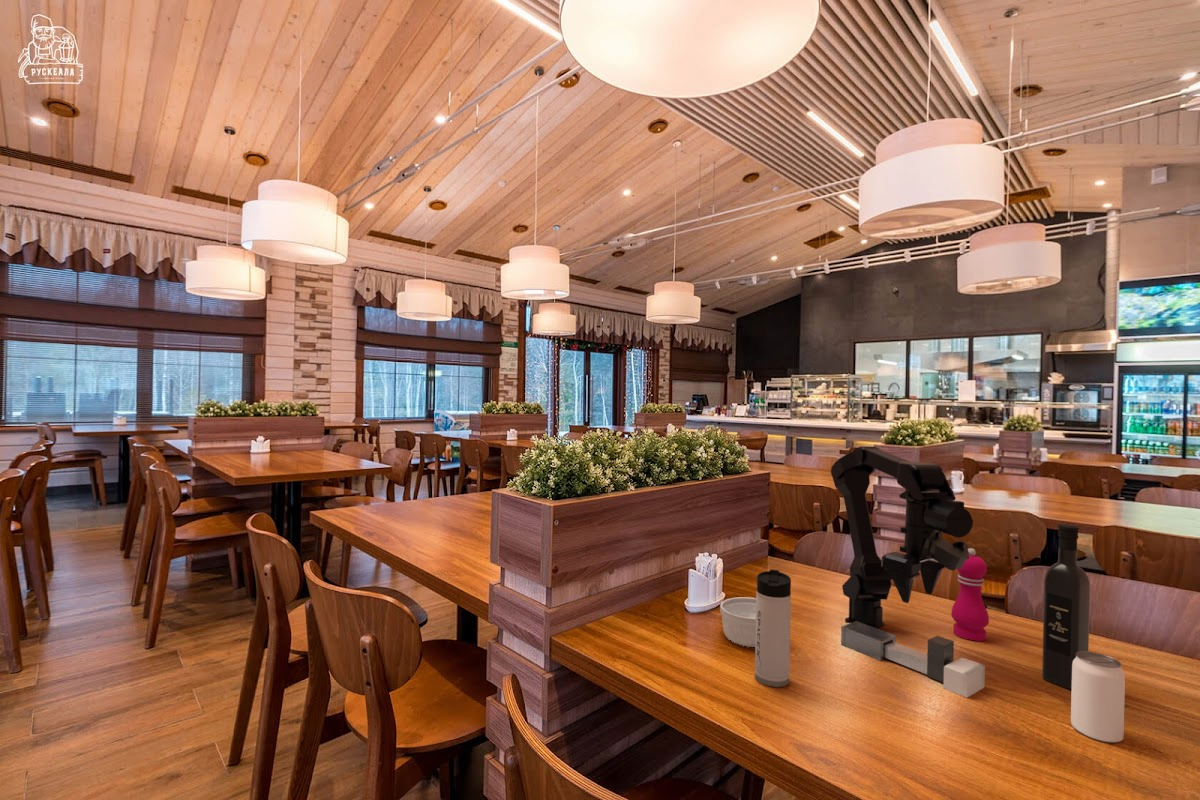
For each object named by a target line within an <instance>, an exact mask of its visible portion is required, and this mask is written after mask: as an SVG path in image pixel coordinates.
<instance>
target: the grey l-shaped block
mask: <svg viewBox="0 0 1200 800" xmlns="http://www.w3.org/2000/svg"><path fill="white" fill-rule="evenodd" d="M954 645H955V640H952V639H948V638H945V637H943V636H940V635H936V636H933V637H931V638H929V639H927V653H925V652H921V651H919V650H916V649H914V648H911V647H908V646H905V645H903V644H900V643H898V642H896V641H895V642H892V641H888V642H885V643H884V647H883V659H888V660H890V661H892V662H895V663H897V664H900V665H902V666H904V667H907V668H908V669H909V668H910V669H912V670H914V671H917V672H920V673H922V674H925V675H926V677H928V678H930V679H934V680H936V681H938V682H941V683H943V684H944V666H946V665H948V664H949V663H951V662H953V661H955V660H954V658H955V657H954V655H955V652H954V651H955V646H954Z"/></svg>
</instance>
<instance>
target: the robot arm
mask: <svg viewBox="0 0 1200 800" xmlns="http://www.w3.org/2000/svg"><path fill="white" fill-rule="evenodd" d="M876 470H877V471H880V472H882V473H884V474H886V475H889V476H890V477H893V478H894V479H896V483H897V484H898V485H899V486H901V487H902V488H904V490H905V491H903V492H901V493H900V494H899V498H900V499H902V500H905V520H904V521H905V523H904V526H900V533H903V534H904V540H903V541H904V545H901V546H899V552H898V551H893V552H889V553H886V554H884V555H883V556H881V557H879V556H878V552H877V549H876V548H877V547H876V543H875V538H874V532H873V528H872V521H871V517H870V512H869V506H868V503H867V502H868V500H867V496H866V494H867V492H868V489H869V486H870V484H871V479H870V476H871V475H872V474H873V473H875V471H876ZM830 475H831V476H832V481H833V485H834V487H835V488H836V490H837V491H839V493H840V494H841V495H842V497H843V500H844V505H845V511H846V517H847V521H848V528H849V532H850V533H849V534H850V537H851V538H850V539H851V543H852V550H853V554H854V555H853V556H854V557H853V560H852V561H851V564H850V567H849V576H850V577H849V578H848V579H846V581H845V582H844V583H843V584H842V585H841V587H842V594H843V596H845V597H847V598H848V599H849V600H848V617H845V618H844V621H845V622H847V623H848V624H849V623H852V622H855V621H857V622H860V623H863V624H866V625H868V626H871V627H874V628H878V627H881V626H884V625H885V621H883V611H884V610H883V606H882V600H886V601H887V600H888V597H889V594H890V590H891V588H892V581H893V583H894V585H895V588H896V590H897V592H898V593H899V597H900V599H901V601H902V603H905V604H908V603H909V602H910V599H911V595H912V589H913V588H912V587H913V582H914V580H915V579H916V578H917V577H919V576H921V581H922V584H923V587H924V591H925V594H927V595H933V593H934V590H935V588H936V585H937V582H938V581H939V580H938V579H939V577H940V576H941V572H942V571H943V570H944V569H947V570H949V571H957V569H958V568H962V566H963V564H964V562H965V560H967V559H969V556H968V555H969V552H968V549H969V545H968V543H966V542H964V541H963V540H956V541H955V542H953V543H952V541H946V540H944V539H943V534H946V535H949V536H952V537H953V538H963V537H965V536H967V535H968V534H969V533H970V532H971V530H972V529H973V524H974V520H973V518H972V515H971V513H970V511H969V510H967V509H966V508H965V502H964V501H960V500H957V499H956V496H955V494H954V490H953V489H952V488H951V485H950V483H949V480H948V479H947V477H946V475H945V473H944V471H943V468H942V467H941V466H940V465H938V464H936V463H929V462H919V461H911V460H908V459H905V458H902V457H900V456H897V455H894V454H892V453H889V452H887V451H885V450H881V449H880V448H879V447H877V446H871V445H870V446H858V447H856V448H854V450H853V451H852V452H849V453H848V454H846V455H843V456H841V457H840V458H838V459H837V460H836V461H835V462H834V464H832V465H831V467H830ZM919 572H920V573H919Z"/></svg>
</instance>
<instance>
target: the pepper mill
mask: <svg viewBox="0 0 1200 800" xmlns="http://www.w3.org/2000/svg"><path fill="white" fill-rule="evenodd" d="M968 552H969V555H968V556H969V559H967V560H965V562H964V564H963V566H962V568H958V569H956V571H957V572H958V573H959V574H957V577H958V578H957V581H958V582H959V592H958V596H957V598H956V599H955V601H954V603H953V605H952V608H951V613H950V614H951V618H952V619H953V621H954V622H955V623H954V624H953V629H952V630H953V634H954V635H955V636H956V637H958V636H959V638H961V637H962V638H961V639H963V638H966V639H965V640H967V639H970V640H969V641H972V640H975V641H974V642H982V641H983V640H984V641H985V640H986V639H987V630H986V629H985V628H986V627H987V626H988V625H989V624H990V623H989V622H990V619H989V617H990V616H989V612H988V610H987V608H986V606H985V604H984V601H983V597H982V586H984V584H985V583H984V581H985V579H984V578H983V577H984V576H985V575H986V574H987V570H988V567H987V564H986V562H985V560H984V559H982V558H981V557H980V556H979V555H978V556H977V555H976V554H977V552H976V549H974V548H969V547H968Z"/></svg>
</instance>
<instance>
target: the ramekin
mask: <svg viewBox="0 0 1200 800" xmlns="http://www.w3.org/2000/svg"><path fill="white" fill-rule="evenodd" d="M719 607H720V608H719V612H720V615H721V622H722V630H723V634H724V636H725V637H726V639H727V640H729V641H730V640H731V641H732V643H733V642H734V643H733V644H735V643H737V644H739V645H738V646H740V645H742V646H741V647H744V646H747V647H746V648H749V647H755V645H756V597H749V596H748V597H745V596H744V597H742V596H740V597H732V598H727V599H724V600H723V601H721V603H720V604H719ZM731 641H730V642H731ZM737 644H736V645H737Z"/></svg>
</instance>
